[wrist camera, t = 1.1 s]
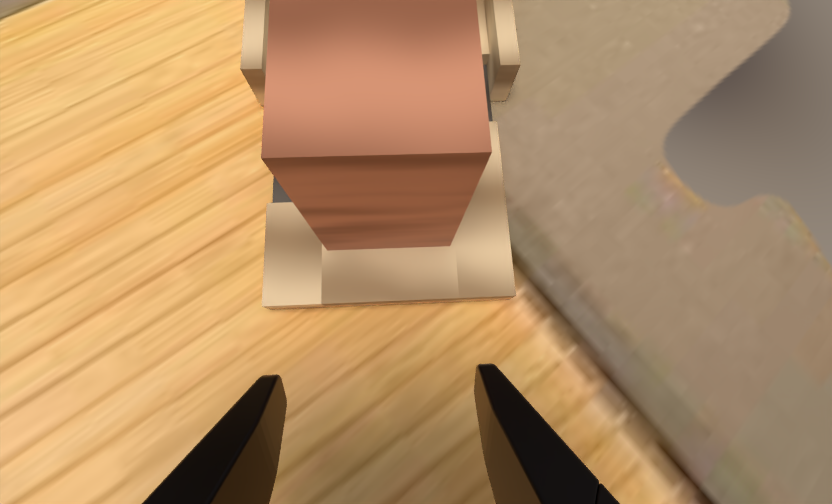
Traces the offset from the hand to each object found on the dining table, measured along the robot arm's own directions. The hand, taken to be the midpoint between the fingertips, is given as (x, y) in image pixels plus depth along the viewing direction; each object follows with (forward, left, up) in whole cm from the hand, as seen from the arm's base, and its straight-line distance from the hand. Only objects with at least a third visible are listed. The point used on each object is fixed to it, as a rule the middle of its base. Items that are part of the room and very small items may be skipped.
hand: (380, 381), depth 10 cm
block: (+7, -7, -12) cm, 16 cm away
